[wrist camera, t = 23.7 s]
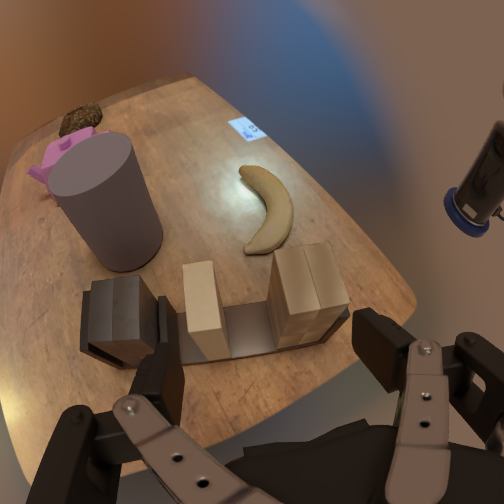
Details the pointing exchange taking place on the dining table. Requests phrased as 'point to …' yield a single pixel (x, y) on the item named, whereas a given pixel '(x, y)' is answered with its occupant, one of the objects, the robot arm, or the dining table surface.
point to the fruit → (269, 210)
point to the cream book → (205, 310)
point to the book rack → (236, 317)
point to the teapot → (59, 154)
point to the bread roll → (80, 118)
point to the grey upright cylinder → (108, 200)
